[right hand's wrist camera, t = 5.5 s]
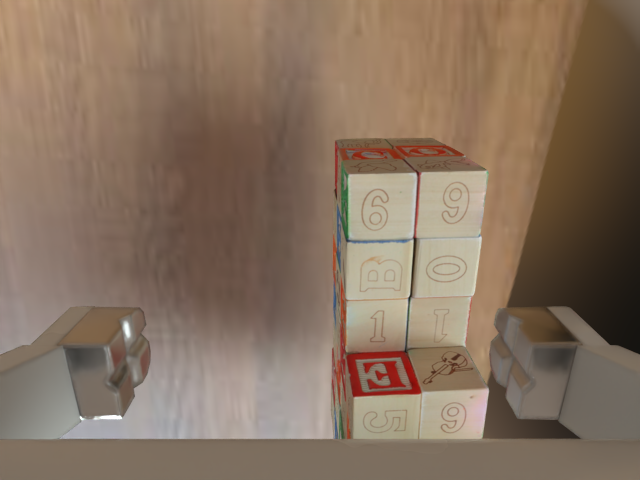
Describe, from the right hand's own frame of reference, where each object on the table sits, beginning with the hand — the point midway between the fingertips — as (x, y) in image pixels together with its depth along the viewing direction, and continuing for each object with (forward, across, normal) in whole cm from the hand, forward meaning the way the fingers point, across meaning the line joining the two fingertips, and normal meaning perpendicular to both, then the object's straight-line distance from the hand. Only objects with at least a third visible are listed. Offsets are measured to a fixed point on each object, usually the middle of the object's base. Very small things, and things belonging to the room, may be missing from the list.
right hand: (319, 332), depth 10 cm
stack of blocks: (+19, +4, -9) cm, 21 cm away
